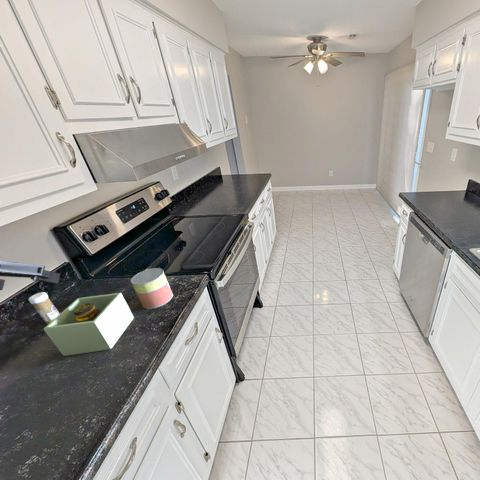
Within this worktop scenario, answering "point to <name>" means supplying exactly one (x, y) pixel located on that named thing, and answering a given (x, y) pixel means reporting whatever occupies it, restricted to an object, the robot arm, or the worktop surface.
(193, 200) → the worktop surface
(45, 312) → the sprinkles bottle
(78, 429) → the worktop surface
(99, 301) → the trash bin
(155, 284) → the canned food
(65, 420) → the worktop surface
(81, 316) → the condiment
